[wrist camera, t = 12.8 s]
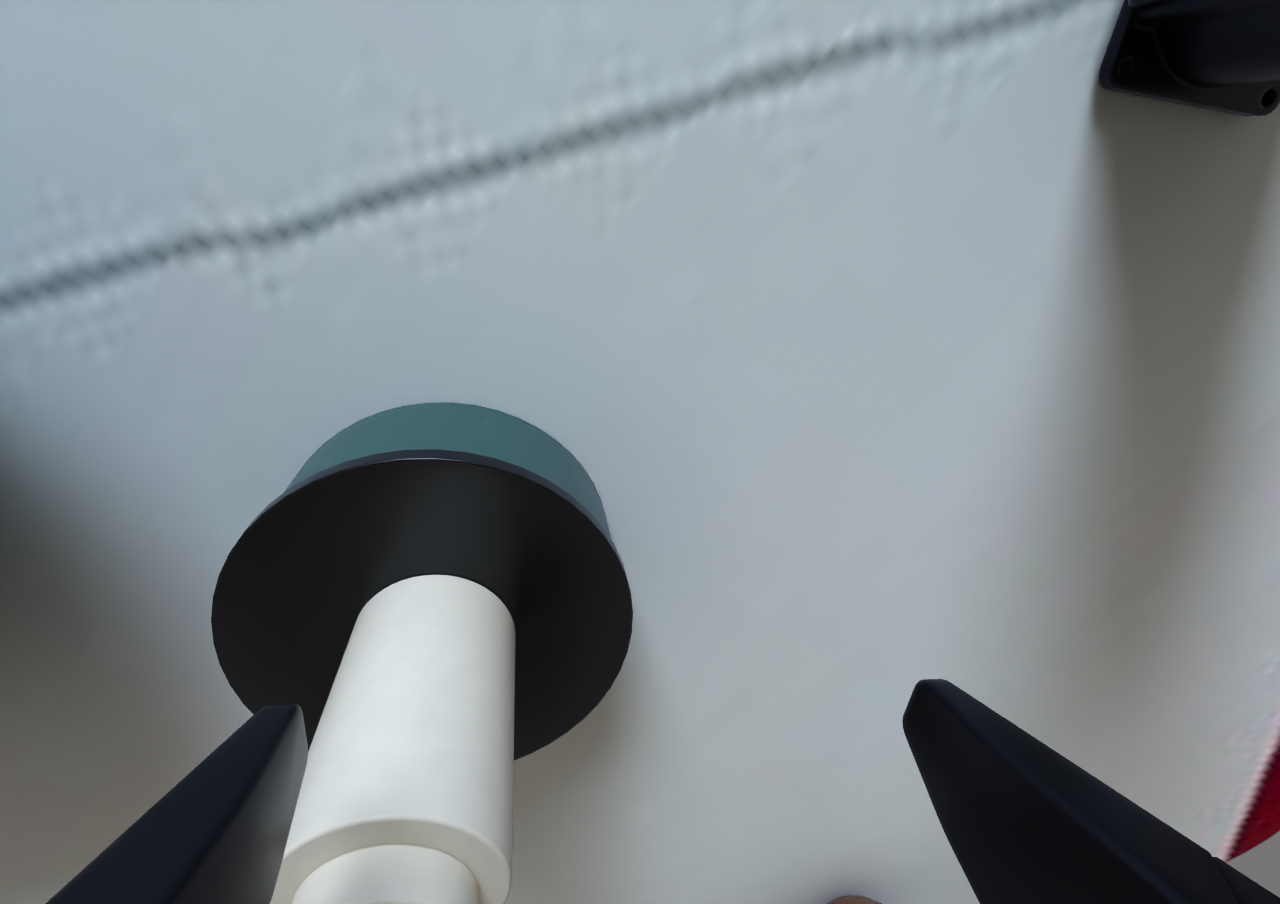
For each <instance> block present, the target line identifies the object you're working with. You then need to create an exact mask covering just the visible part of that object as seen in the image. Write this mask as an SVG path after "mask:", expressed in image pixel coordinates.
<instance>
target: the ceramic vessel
mask: <svg viewBox="0 0 1280 904" xmlns="http://www.w3.org/2000/svg"><path fill="white" fill-rule="evenodd" d="M828 904H881V903H879V902H876V901H874V900H871V899H869V898H865V897H862V896H844V897H840V898H837V899H835V900H833V901H831V902H829V903H828Z"/></svg>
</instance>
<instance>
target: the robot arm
mask: <svg viewBox="0 0 1280 904" xmlns="http://www.w3.org/2000/svg"><path fill="white" fill-rule="evenodd" d="M1120 64H1121V65H1122V70H1121V73H1120V75H1119V76H1118V67H1119V66H1120ZM1099 83H1100V84H1101V86H1102V87H1103V88H1104V89H1106V90H1111V91H1116V92H1121V93H1126V94H1132V95H1137V96H1142V97H1147V98H1153V99H1158V100H1163V101H1168V102H1174V103H1179V104H1184V105H1189V106H1195V107H1200V108H1205V109H1210V110H1216V111H1221V112H1226V113H1231V114H1237V115H1242V116H1261V115H1267V114H1269V113H1271V112H1272V111H1273V110H1274V109H1275V108H1276V107H1277V106H1278V104H1279V102H1280V0H1125V1H1124V4H1123V7H1122V9H1121V12H1120V15H1119V18H1118V20H1117V23H1116V26H1115V29H1114V32H1113V34H1112V37H1111V40H1110V43H1109V45H1108V48H1107V51H1106V54H1105V57H1104V59H1103V62H1102V65H1101V68H1100V72H1099ZM903 729H904V733H905V736H906V738H907V741H908V743H909V746H910V748H911V751H912V753H913V756H914V758H915V761H916V763H917V766H918V768H919V771H920V773H921V776H922V778H923V781H924V783H925V786H926V788H927V791H928V793H929V796H930V798H931V801H932V803H933V806H934V808H935V811H936V814H937V816H938V818H939V821H940V823H941V825H942V828H943V830H944V832H945V834H946V836H947V838H948V841H949V843H950V845H951V847H952V849H953V851H954V853H955V855H956V857H957V859H958V861H959V863H960V865H961V867H962V869H963V871H964V873H965V875H966V877H967V879H968V881H969V883H970V885H971V887H972V889H973V891H974V893H975V895H976V897H977V899H978V901H979V903H980V904H1280V898H1279V897H1277V896H1276V895H1274V894H1273V893H1271V892H1270V891H1268V890H1266V889H1265V888H1263V887H1262V886H1260V885H1258V884H1257V883H1256V882H1254V881H1252V880H1251V879H1249V878H1248V877H1246V876H1245V875H1243V874H1242V873H1240V872H1239V871H1237V870H1236V869H1234V868H1233V867H1231V866H1230V865H1228V864H1227V863H1225V862H1224V861H1222V860H1221V859H1219V858H1217V857H1212V855H1211V854H1210V853H1209V852H1208V851H1207V850H1205V849H1204V848H1202V847H1200V846H1199V845H1197V844H1196V843H1194V842H1193V841H1191V840H1190V839H1188V838H1187V837H1185V836H1184V835H1182V834H1181V833H1179V832H1178V831H1176V830H1175V829H1173V828H1171V827H1170V826H1168V825H1167V824H1165V823H1164V822H1162V821H1161V820H1159V819H1158V818H1156V817H1155V816H1153V815H1152V814H1150V813H1149V812H1147V811H1146V810H1144V809H1143V808H1141V807H1139V806H1138V805H1136V804H1135V803H1133V802H1132V801H1130V800H1129V799H1127V798H1126V797H1124V796H1123V795H1121V794H1120V793H1118V792H1117V791H1115V790H1114V789H1112V788H1110V787H1109V786H1107V785H1106V784H1104V783H1103V782H1101V781H1100V780H1098V779H1097V778H1095V777H1094V776H1092V775H1091V774H1089V773H1088V772H1086V771H1085V770H1083V769H1082V768H1080V767H1078V766H1077V765H1075V764H1074V763H1072V762H1071V761H1069V760H1068V759H1066V758H1065V757H1063V756H1062V755H1060V754H1059V753H1057V752H1056V751H1054V750H1053V749H1051V748H1049V747H1048V746H1046V745H1045V744H1043V743H1042V742H1040V741H1039V740H1037V739H1036V738H1034V737H1033V736H1031V735H1030V734H1028V733H1027V732H1025V731H1024V730H1022V729H1021V728H1019V727H1017V726H1016V725H1014V724H1013V723H1011V722H1010V721H1008V720H1007V719H1005V718H1004V717H1002V716H1001V715H999V714H998V713H996V712H995V711H993V710H992V709H990V708H988V707H987V706H985V705H984V704H982V703H981V702H979V701H978V700H976V699H975V698H973V697H972V696H970V695H969V694H967V693H966V692H964V691H963V690H961V689H960V688H958V687H956V686H955V685H953V684H952V683H950V682H949V681H947V680H943V679H928V680H920V681H919V682H918V683H917V684H916V685H915V688H914V690H913V693H912V695H911V698H910V700H909V703H908V705H907V708H906V710H905V713H904V715H903ZM307 758H308V745H307V738H306V732H305V725H304V719H303V713H302V710H301V708H300V706H299V705H296V704H281V705H268V706H265V707H263V708H261V709H260V710H259V711H258V712H257V713H255V714H254V715H253V716H252V717H251V718H250V719H249V720H248V721H247V722H246V723H244V724H243V725H242V726H241V727H240V728H239V729H238V730H237V731H236V732H234V733H233V734H232V735H231V736H230V737H229V738H228V739H227V740H226V741H225V742H223V743H222V744H221V745H220V746H219V747H218V748H217V749H216V750H215V751H213V752H212V753H211V754H210V755H209V756H208V757H207V758H206V759H205V760H204V761H202V762H201V763H200V764H199V765H198V766H197V767H196V768H195V769H194V770H193V771H191V772H190V773H189V774H188V775H187V776H186V777H185V778H184V779H183V780H181V781H180V782H179V783H178V784H177V785H176V786H175V787H174V788H173V789H172V790H170V791H169V792H168V793H167V794H166V795H165V796H164V797H163V798H162V799H160V800H159V801H158V802H157V803H156V804H155V805H154V806H153V807H152V808H151V809H149V810H148V811H147V812H146V813H145V814H144V815H143V816H142V817H141V818H140V819H138V820H137V821H136V822H135V823H134V824H133V825H132V826H131V827H130V828H128V829H127V830H126V831H125V832H124V833H123V834H122V835H121V836H120V837H119V838H117V839H116V840H115V841H114V842H113V843H112V844H111V845H110V846H109V847H108V848H106V849H105V850H104V851H103V852H102V853H101V854H100V855H99V856H98V857H96V858H95V859H94V860H93V861H92V862H91V863H90V864H89V865H88V866H87V867H85V868H84V869H83V870H82V871H81V872H80V873H79V874H78V875H77V876H75V877H74V878H73V879H72V880H71V881H70V882H69V883H68V884H67V885H66V886H64V887H63V888H62V889H61V890H60V891H59V892H58V893H57V894H56V895H55V896H53V897H52V898H51V899H50V900H49V901H48V902H47V903H46V904H270V902H271V899H272V896H273V893H274V889H275V886H276V882H277V878H278V875H279V871H280V867H281V863H282V859H283V855H284V851H285V847H286V843H287V840H288V836H289V832H290V828H291V824H292V820H293V816H294V812H295V808H296V804H297V800H298V797H299V793H300V789H301V785H302V781H303V777H304V773H305V769H306V765H307Z"/></svg>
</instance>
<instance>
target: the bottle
mask: <svg viewBox="0 0 1280 904" xmlns="http://www.w3.org/2000/svg"><path fill="white" fill-rule="evenodd" d="M514 699H515V627H514V622H513V619H512V617H511V614H510V613H509V611H508V609H507V607H506V606H505V605H504V604H503V602H502V601H501V600H500V599H499V598H498V597H497V596H496V595H495V594H494V593H492V592H491V591H489V590H488V589H487V588H485V587H483V586H481V585H479V584H477V583H475V582H473V581H470V580H467V579H464V578H460V577H455V576H449V575H423V576H417V577H412V578H408V579H405V580H402V581H399V582H397V583H394V584H392V585H390V586H388V587H386V588H385V589H383V590H382V591H380V592H379V593H378V594H376V595H375V596H374V597H373V598H372V599H371V600H369V601H368V603H367V604H366V605H365V606H364V608H363V609H362V610H361V612H360V614H359V616H358V618H357V620H356V623H355V626H354V629H353V631H352V634H351V637H350V639H349V642H348V645H347V648H346V650H345V653H344V656H343V659H342V661H341V664H340V667H339V670H338V672H337V675H336V678H335V680H334V683H333V686H332V689H331V691H330V694H329V697H328V700H327V702H326V705H325V708H324V711H323V713H322V716H321V719H320V721H319V724H318V727H317V730H316V732H315V735H314V738H313V741H312V743H311V746H310V749H309V752H308V758H307V765H306V769H305V773H304V777H303V781H302V785H301V789H300V793H299V797H298V800H297V804H296V808H295V812H294V816H293V820H292V824H291V828H290V832H289V836H288V840H287V843H286V847H285V851H284V855H283V859H282V863H281V867H280V871H279V875H278V878H277V882H276V886H275V889H274V893H273V896H272V899H271V902H270V904H505V903H506V901H507V898H508V895H509V893H510V889H511V883H512V833H513V766H514Z"/></svg>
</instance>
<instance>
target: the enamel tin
mask: <svg viewBox="0 0 1280 904" xmlns="http://www.w3.org/2000/svg"><path fill="white" fill-rule="evenodd" d="M423 575H449V576H455V577H460V578H464V579H467V580H470V581H473V582H475V583H477V584H479V585H481V586H483V587H485V588H487V589H488V590H489V591H491V592H492V593H494V594H495V595H496V596H497V597H498V598H499V599H500V600H501V601H502V602H503V604H504V605H505V606H506V607H507V609H508V611H509V613H510V614H511V617H512V619H513V622H514V627H515V699H514V760H516V759H519V758H521V757H524V756H526V755H529V754H531V753H533V752H535V751H537V750H539V749H541V748H542V747H544V746H546V745H548V744H550V743H552V742H553V741H555V740H556V739H558V738H559V737H561V736H562V735H564V734H565V733H567V732H568V731H569V730H571V729H572V728H573V727H574V726H576V725H577V724H578V723H579V722H580V721H582V720H583V719H584V718H585V717H586V716H587V715H588V714H589V713H590V712H591V711H592V710H593V709H594V708H595V707H596V706H597V705H598V704H599V702H600V701H601V700H602V698H603V697H604V696H605V694H606V693H607V692H608V690H609V689H610V688H611V686H612V684H613V682H614V680H615V679H616V677H617V675H618V673H619V672H620V669H621V667H622V664H623V662H624V659H625V657H626V654H627V651H628V647H629V642H630V638H631V633H632V619H633V609H632V599H631V592H630V588H629V584H628V580H627V576H626V573H625V569H624V565H623V563H622V560H621V558H620V556H619V554H618V552H617V549H616V547H615V545H614V543H613V542H612V540H611V537H610V533H609V528H608V524H607V520H606V516H605V512H604V509H603V505H602V502H601V499H600V497H599V494H598V492H597V490H596V488H595V485H594V483H593V482H592V480H591V479H590V477H589V476H588V474H587V472H586V471H585V469H584V468H583V467H582V465H581V464H580V463H579V462H578V461H577V460H576V458H575V457H574V456H573V455H572V454H571V453H570V452H569V451H568V450H567V449H566V448H564V447H563V446H562V445H561V444H560V443H559V442H558V441H557V440H555V439H554V438H552V437H551V436H549V435H548V434H546V433H545V432H543V431H542V430H541V429H539V428H537V427H535V426H533V425H531V424H529V423H527V422H525V421H523V420H521V419H519V418H517V417H514V416H511V415H509V414H506V413H503V412H500V411H497V410H493V409H489V408H485V407H480V406H476V405H468V404H458V403H424V404H416V405H408V406H402V407H398V408H394V409H391V410H387V411H383V412H380V413H377V414H375V415H372V416H370V417H367V418H365V419H362V420H360V421H358V422H356V423H354V424H353V425H351V426H349V427H347V428H345V429H344V430H342V431H340V432H339V433H337V434H336V435H335V436H333V437H332V438H331V439H330V440H328V441H327V442H326V443H324V444H323V445H322V446H321V447H320V448H319V449H318V450H317V451H316V452H315V453H314V454H313V455H312V456H311V457H310V458H309V459H308V460H307V462H306V463H305V465H304V466H303V467H302V469H301V470H300V471H299V473H298V474H297V475H296V477H295V478H294V480H293V481H292V482H291V484H290V485H289V486H288V488H287V489H286V490H285V492H284V493H283V494H282V495H281V496H279V497H278V498H277V499H275V500H274V501H273V502H271V503H270V504H269V505H268V506H267V507H266V508H265V509H264V510H263V511H262V512H261V513H260V514H259V515H258V516H257V517H256V518H255V519H254V520H253V521H252V523H251V524H250V525H249V526H248V528H247V529H246V530H245V532H244V533H243V534H242V536H241V537H240V539H239V540H238V542H237V543H236V544H235V546H234V547H233V549H232V550H231V552H230V553H229V555H228V557H227V559H226V561H225V563H224V566H223V568H222V570H221V572H220V574H219V577H218V581H217V584H216V588H215V592H214V596H213V604H212V617H211V623H212V632H213V641H214V646H215V649H216V653H217V656H218V659H219V663H220V666H221V668H222V670H223V672H224V674H225V676H226V678H227V680H228V682H229V684H230V686H231V687H232V688H233V690H234V691H235V693H236V694H237V695H238V697H239V698H240V700H241V701H242V702H243V704H244V705H245V706H246V707H247V708H248V709H249V710H250V711H251V712H252V713H253V714H255V713H257V712H258V711H259V710H260V709H261V708H263V707H265V706H268V705H281V704H296V705H299V706H300V708H301V710H302V713H303V719H304V725H305V732H306V738H307V745H308V752H309V749H310V746H311V743H312V741H313V738H314V735H315V732H316V730H317V727H318V724H319V721H320V719H321V716H322V713H323V711H324V708H325V705H326V702H327V700H328V697H329V694H330V691H331V689H332V686H333V683H334V680H335V678H336V675H337V672H338V670H339V667H340V664H341V661H342V659H343V656H344V653H345V650H346V648H347V645H348V642H349V639H350V637H351V634H352V631H353V629H354V626H355V623H356V620H357V618H358V616H359V614H360V612H361V610H362V609H363V608H364V606H365V605H366V604H367V603H368V601H369V600H371V599H372V598H373V597H374V596H375V595H376V594H378V593H379V592H380V591H382V590H383V589H385V588H386V587H388V586H390V585H392V584H394V583H397V582H399V581H402V580H405V579H408V578H412V577H417V576H423Z"/></svg>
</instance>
